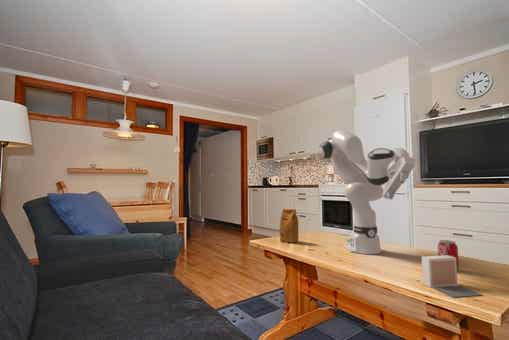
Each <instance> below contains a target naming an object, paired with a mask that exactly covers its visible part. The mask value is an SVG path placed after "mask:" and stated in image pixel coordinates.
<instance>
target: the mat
mask: <svg viewBox="0 0 509 340" xmlns="http://www.w3.org/2000/svg"><path fill="white" fill-rule="evenodd" d="M432 288H433V289H434V290H435V291H438V292H440V293H443V294H444V295H446V296H449V297H451V298H452V299H453V298H465V297H467V298H470V297H479V296H480V297H481V296H482V297H483V294H482V293H479V292H478V291H477V292H476V291H475V290H473V289H470V288H467V287H465V286H462V285H456V286H440V287H432Z"/></svg>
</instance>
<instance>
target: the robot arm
mask: <svg viewBox="0 0 509 340" xmlns="http://www.w3.org/2000/svg"><path fill="white" fill-rule="evenodd" d="M318 152H319V154H320V157H321V158H323V159H330V158H331V166H332V168H333V170H335V172H336V173H337V175H338V176H339V178H340V179H341V180H342V181H343V183H344V184H346V186H345V187H344V189H343V190H344V191H343V192H344V196H345V198H346V200H348V201H349V202H350V204H351V207H352V210H353V214H354V225H353V232H352V233H351V234H350V235H349V236H348V238H347V239H346V240H347V243H346V244H344V245H343V247H344V248H346V250H348V251H349V252H350V253H356V254H363V255H378V254H381V253H382V252H383V250H384V249H383V248H382V247H381V242H380V241H381V239H380V236H379V235H378V226H377V214H376V211H375V210H373V208H372V207H371V205H370V202H375V201H378V200H380V199H382V198H384V199H387V200H393V199H394V198H395V194H396V192H397V191H398V190H399V189H400V187H401V186H402V184H404V183H406V181H407V179H408V178H409V177H410V173H411V172H412V171H413V169H414V167H415V163H416V159H415V158H413V157H412V156H410V154H409V152H408V151H407V150H406V149H404V148H402V147H395V148H393V149H388V148H384V147H382V148H375V149H373V150H372V151H370V152H368V154H367V159H366V158H365V155H364V149H363V143H362V140H361V139H360V138H359V137H358V136H357V134H354V133H352V132H350V131H347V130H344V129H338V130H336V131H334V132H333V134H332V136H331V139H329V140H326V141H324V142H322V143H320V145H319V147H318ZM383 185H384V188H383Z"/></svg>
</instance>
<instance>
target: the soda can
mask: <svg viewBox="0 0 509 340" xmlns="http://www.w3.org/2000/svg"><path fill="white" fill-rule="evenodd" d="M437 253H438V254H437V256H443V255H449V256H452V257H455V258H456V267H457V271H458V270H459V269H460V268H459V267H460V264H459V261H460V260H459V248H458V245H457V244H456V241H454V240H448V239H447V240H445V239H443V240H442V239H441V240H439V242H438V244H437Z"/></svg>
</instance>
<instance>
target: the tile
mask: <svg viewBox="0 0 509 340" xmlns="http://www.w3.org/2000/svg"><path fill="white" fill-rule="evenodd" d="M421 271H422V272H421V273H422V283H423V285H426V286H427V287H429V288H433V287H448V286H459V285H458V270H457V267H456V258H455V257H452V256H449V255H443V256H438V255H427V256H421Z"/></svg>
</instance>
